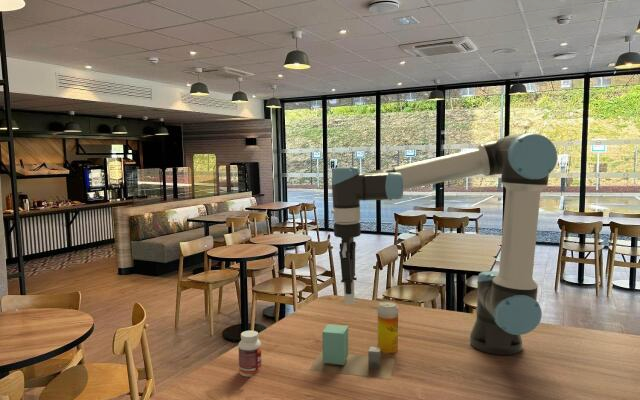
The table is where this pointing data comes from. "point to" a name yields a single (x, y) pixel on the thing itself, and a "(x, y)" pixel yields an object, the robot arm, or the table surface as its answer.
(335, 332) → the mint green toy brick
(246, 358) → the pill bottle
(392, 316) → the beer can
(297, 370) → the table surface
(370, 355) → the short post
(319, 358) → the board
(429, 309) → the table surface
